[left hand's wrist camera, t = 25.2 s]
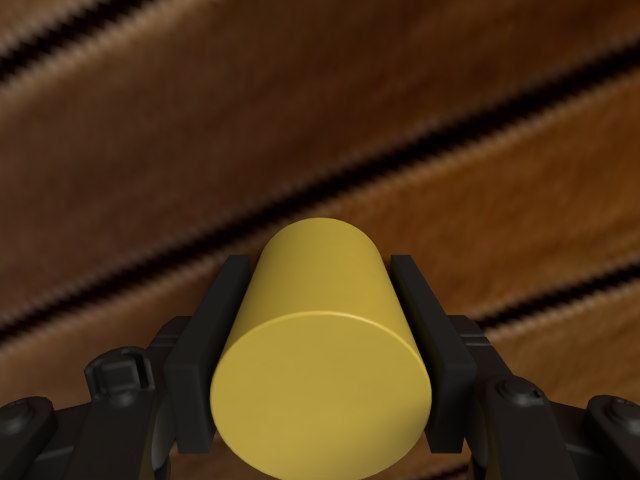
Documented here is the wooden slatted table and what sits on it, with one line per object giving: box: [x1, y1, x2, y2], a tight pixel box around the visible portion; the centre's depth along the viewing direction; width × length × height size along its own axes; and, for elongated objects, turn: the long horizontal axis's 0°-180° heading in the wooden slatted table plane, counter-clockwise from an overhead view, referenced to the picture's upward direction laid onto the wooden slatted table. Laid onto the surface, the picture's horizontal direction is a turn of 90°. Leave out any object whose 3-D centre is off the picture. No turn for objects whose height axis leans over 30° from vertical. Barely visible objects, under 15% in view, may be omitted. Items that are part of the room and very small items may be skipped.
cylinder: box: [210, 218, 432, 480], centre depth 12 cm, size 5×5×7 cm
